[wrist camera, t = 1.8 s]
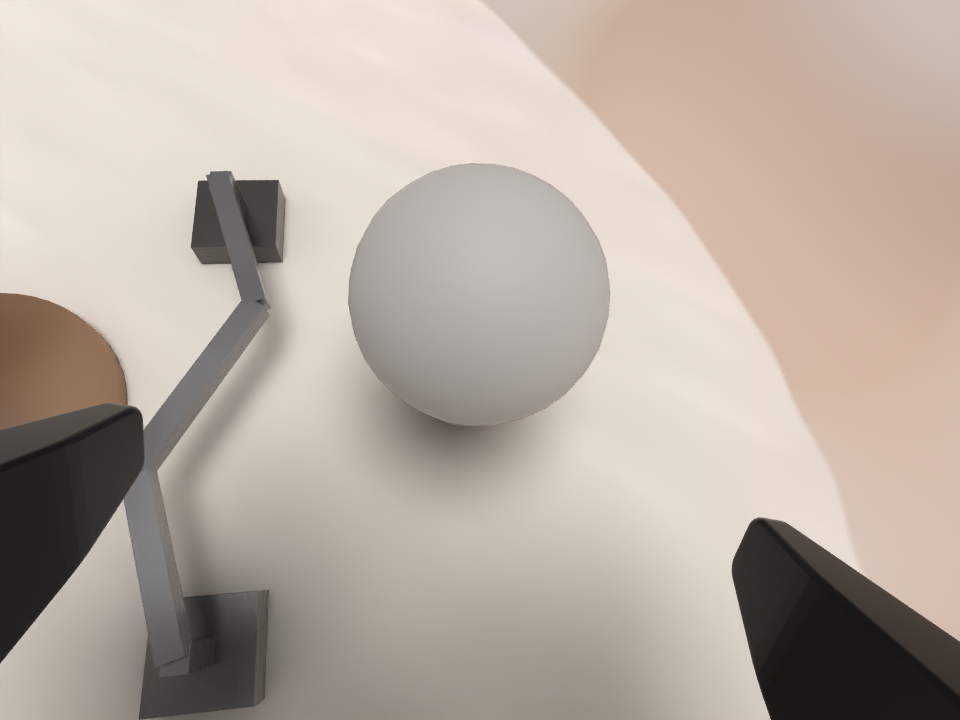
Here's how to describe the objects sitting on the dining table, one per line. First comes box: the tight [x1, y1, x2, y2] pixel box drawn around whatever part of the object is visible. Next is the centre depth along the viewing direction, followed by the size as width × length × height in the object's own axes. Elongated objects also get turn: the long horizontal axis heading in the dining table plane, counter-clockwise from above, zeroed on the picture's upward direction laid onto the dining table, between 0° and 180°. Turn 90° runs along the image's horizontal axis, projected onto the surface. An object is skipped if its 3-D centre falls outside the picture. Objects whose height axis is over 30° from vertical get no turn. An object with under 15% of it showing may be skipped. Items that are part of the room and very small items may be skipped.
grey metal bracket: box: [124, 171, 285, 719], centre depth 18 cm, size 18×4×4 cm, turn 5°
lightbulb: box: [348, 163, 610, 426], centre depth 16 cm, size 6×6×11 cm
